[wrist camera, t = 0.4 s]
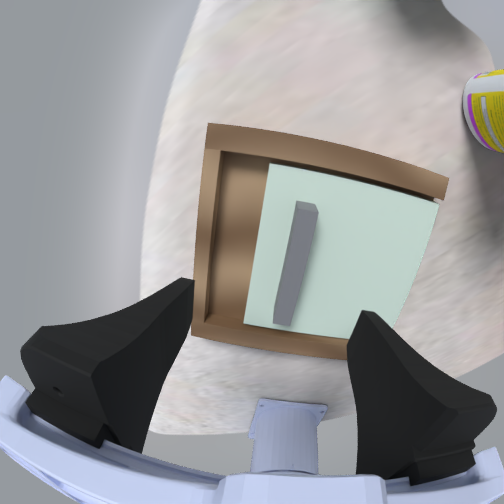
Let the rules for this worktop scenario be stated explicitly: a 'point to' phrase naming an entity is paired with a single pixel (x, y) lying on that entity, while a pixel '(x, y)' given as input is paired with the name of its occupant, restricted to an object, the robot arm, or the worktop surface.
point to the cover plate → (334, 251)
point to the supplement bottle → (486, 108)
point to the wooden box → (248, 221)
